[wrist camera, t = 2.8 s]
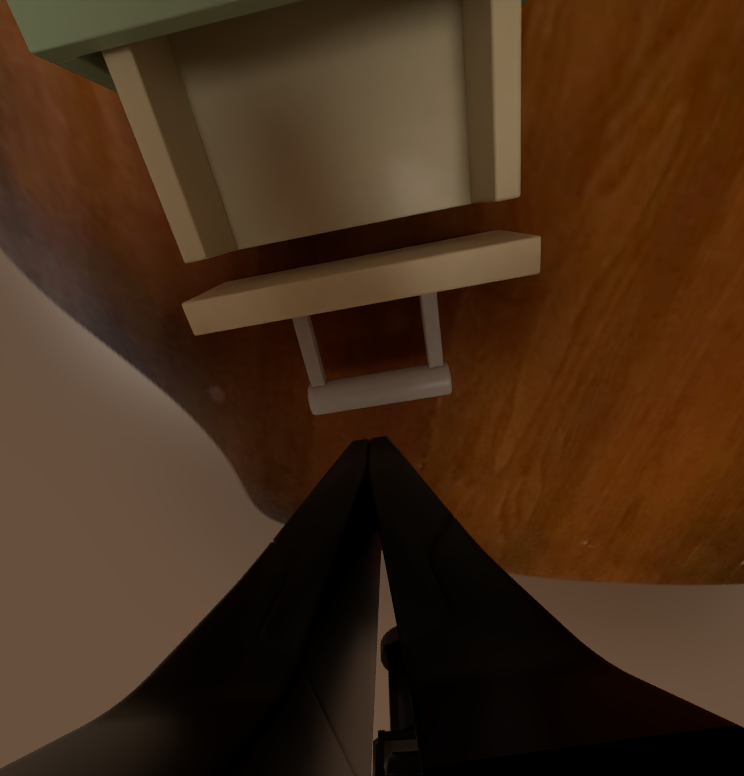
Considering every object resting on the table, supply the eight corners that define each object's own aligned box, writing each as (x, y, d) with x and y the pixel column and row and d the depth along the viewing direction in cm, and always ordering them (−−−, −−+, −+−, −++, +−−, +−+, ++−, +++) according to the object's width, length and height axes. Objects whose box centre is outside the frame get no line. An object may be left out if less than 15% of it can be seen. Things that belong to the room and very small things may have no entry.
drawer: (502, 357, 18) (537, 396, 14) (265, 396, 19) (238, 443, 15) (486, -464, 8) (580, -1009, 5) (17, -305, 9) (-221, -650, 6)
